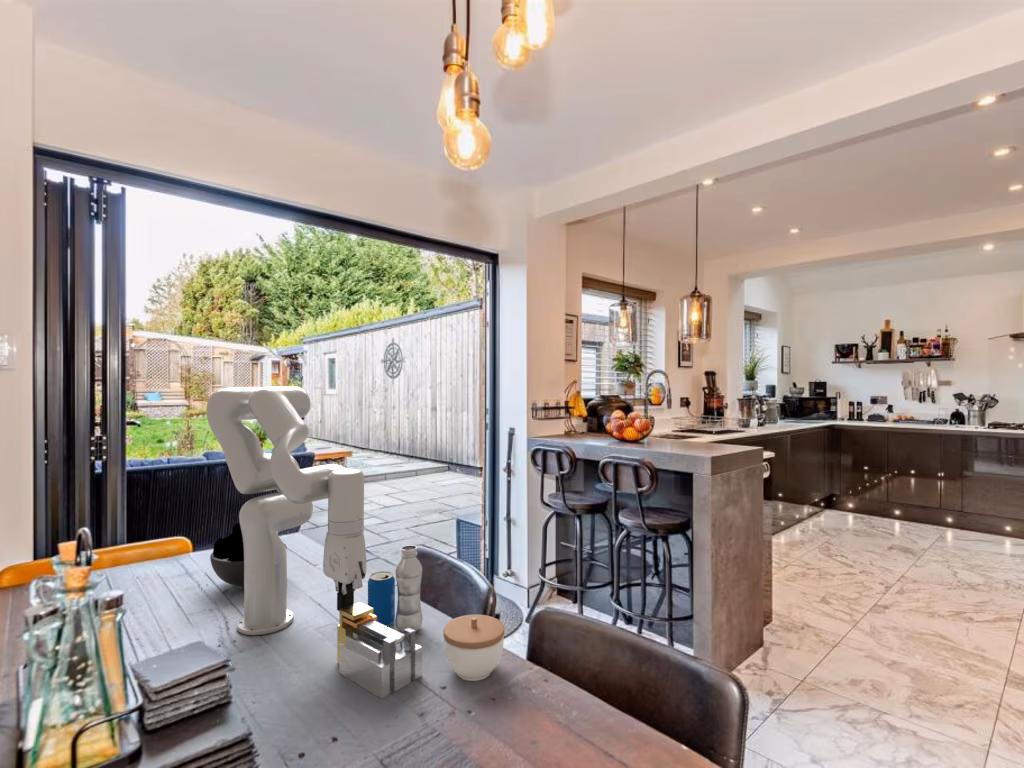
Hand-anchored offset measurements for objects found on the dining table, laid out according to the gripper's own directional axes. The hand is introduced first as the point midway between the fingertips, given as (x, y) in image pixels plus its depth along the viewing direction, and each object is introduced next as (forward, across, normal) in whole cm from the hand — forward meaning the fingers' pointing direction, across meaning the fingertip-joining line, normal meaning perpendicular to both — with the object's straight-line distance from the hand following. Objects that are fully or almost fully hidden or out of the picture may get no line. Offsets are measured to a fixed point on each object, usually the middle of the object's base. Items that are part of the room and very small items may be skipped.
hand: (345, 609), depth 115 cm
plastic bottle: (+10, +2, +16) cm, 19 cm away
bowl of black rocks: (+11, -56, +5) cm, 57 cm away
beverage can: (+10, -6, +14) cm, 18 cm away
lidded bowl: (+10, +26, +13) cm, 31 cm away
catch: (+10, +3, 0) cm, 10 cm away
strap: (+1, +11, 0) cm, 11 cm away
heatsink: (+10, +12, 0) cm, 16 cm away
